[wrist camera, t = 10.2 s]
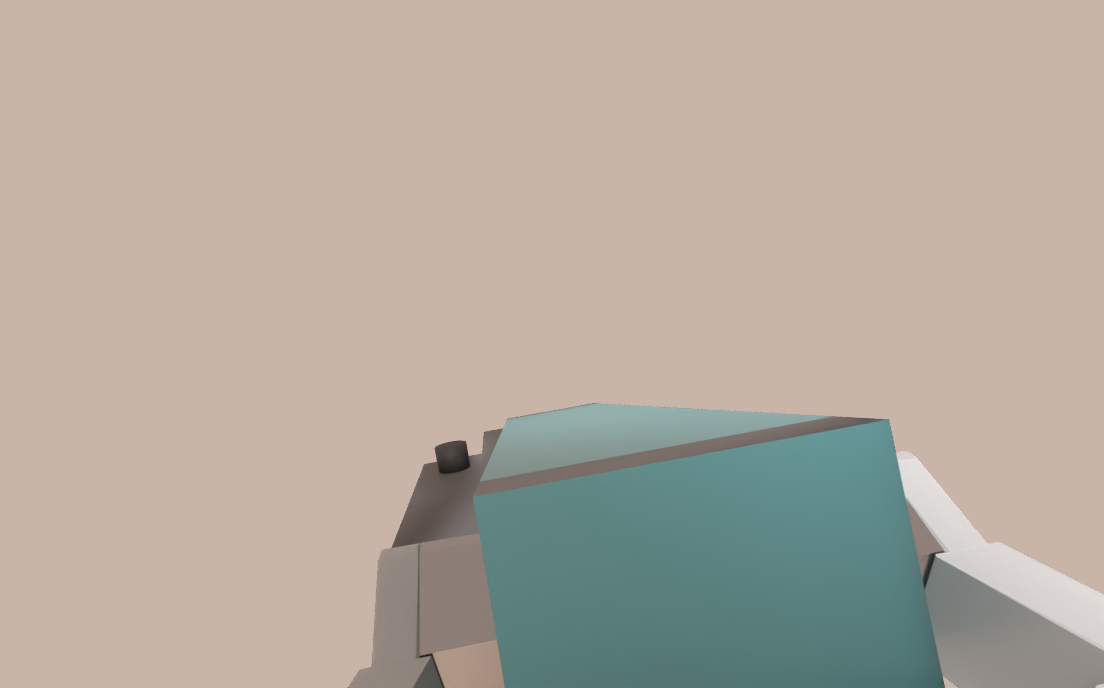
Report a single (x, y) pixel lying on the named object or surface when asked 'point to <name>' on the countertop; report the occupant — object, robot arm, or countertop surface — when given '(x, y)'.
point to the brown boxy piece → (446, 494)
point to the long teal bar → (702, 552)
